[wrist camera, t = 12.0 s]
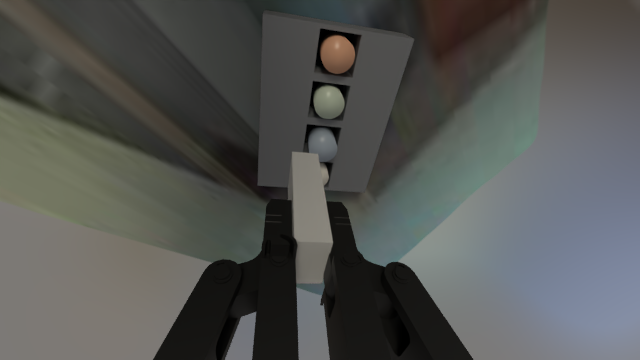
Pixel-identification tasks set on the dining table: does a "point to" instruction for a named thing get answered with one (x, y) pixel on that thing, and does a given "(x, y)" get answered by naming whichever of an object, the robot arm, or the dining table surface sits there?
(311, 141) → the button slate
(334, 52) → the button terracotta
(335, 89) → the button sage
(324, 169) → the button ivory
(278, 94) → the console
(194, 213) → the dining table surface
